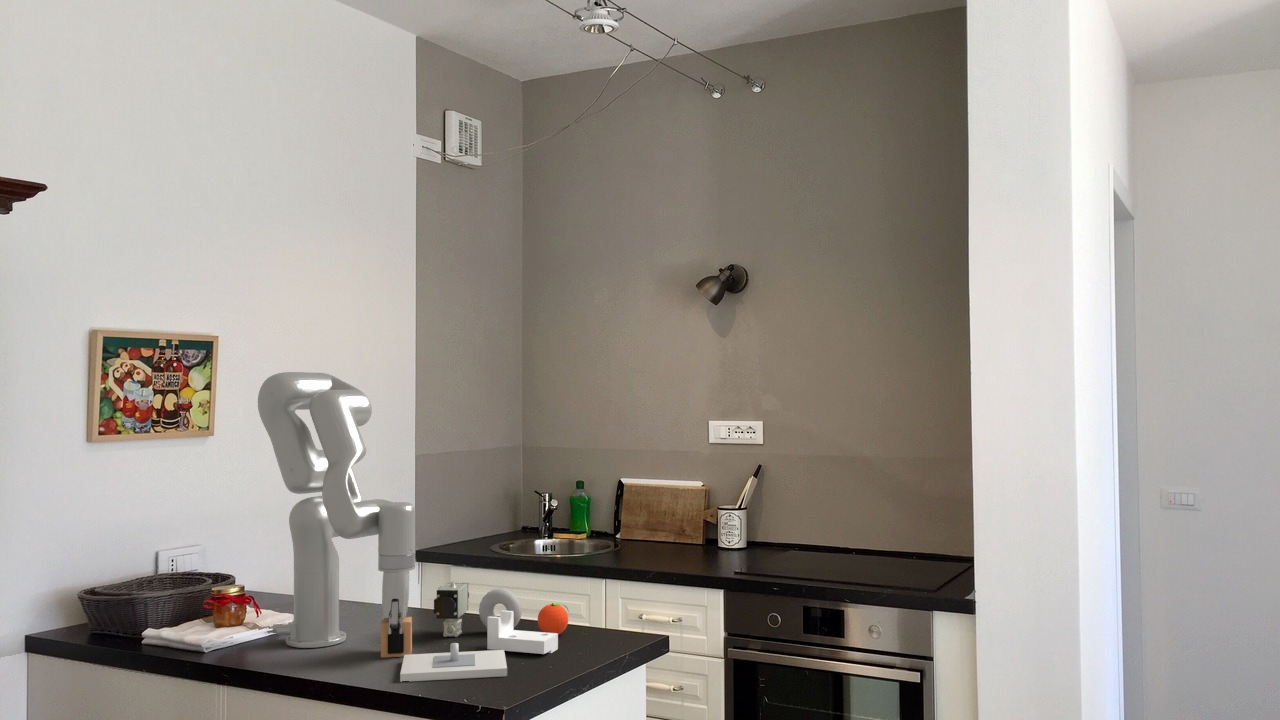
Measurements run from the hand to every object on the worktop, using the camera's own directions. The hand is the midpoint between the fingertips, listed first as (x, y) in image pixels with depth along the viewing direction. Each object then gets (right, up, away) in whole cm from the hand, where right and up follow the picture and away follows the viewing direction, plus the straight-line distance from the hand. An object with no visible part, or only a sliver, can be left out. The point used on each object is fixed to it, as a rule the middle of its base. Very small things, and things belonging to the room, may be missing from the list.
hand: (396, 648), depth 209 cm
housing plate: (+14, -1, -12) cm, 18 cm away
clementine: (+32, -2, +16) cm, 35 cm away
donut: (+19, -2, +18) cm, 26 cm away
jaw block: (0, -1, 0) cm, 1 cm away
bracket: (+26, -1, +2) cm, 26 cm away
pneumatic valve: (+8, -2, +16) cm, 18 cm away
